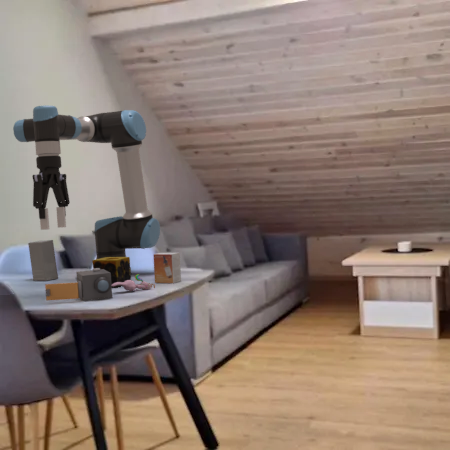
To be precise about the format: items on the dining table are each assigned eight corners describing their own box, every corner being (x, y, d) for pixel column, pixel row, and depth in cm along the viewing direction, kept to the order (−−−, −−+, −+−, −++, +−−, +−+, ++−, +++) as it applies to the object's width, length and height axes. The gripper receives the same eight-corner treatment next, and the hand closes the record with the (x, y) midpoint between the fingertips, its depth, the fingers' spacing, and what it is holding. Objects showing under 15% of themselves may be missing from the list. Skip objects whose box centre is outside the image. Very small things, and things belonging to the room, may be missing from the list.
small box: (154, 283, 237) (152, 254, 237) (163, 280, 242) (161, 252, 242) (173, 283, 233) (171, 254, 233) (181, 281, 238) (179, 252, 238)
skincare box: (58, 278, 264) (55, 239, 263) (44, 281, 259) (41, 241, 258) (44, 278, 269) (42, 239, 268) (30, 280, 264) (27, 241, 263)
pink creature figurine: (149, 291, 227) (108, 290, 220) (150, 274, 228) (109, 272, 220) (156, 293, 222) (114, 292, 214) (158, 276, 222) (116, 273, 215)
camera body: (77, 295, 217) (75, 269, 217) (105, 292, 221) (103, 266, 220) (84, 302, 204) (82, 274, 204) (113, 298, 207) (111, 271, 207)
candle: (92, 288, 234) (90, 260, 233) (107, 283, 243) (105, 256, 243) (118, 288, 230) (116, 259, 230) (131, 283, 240) (130, 256, 239)
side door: (82, 298, 206) (81, 281, 206) (81, 299, 205) (80, 282, 204) (47, 300, 206) (45, 283, 206) (45, 301, 204) (44, 284, 204)
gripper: (59, 157, 218) (64, 226, 219) (16, 156, 199) (22, 231, 200) (78, 155, 214) (82, 225, 216) (36, 154, 196) (41, 230, 197)
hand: (53, 228), depth 208 cm, fingers open, 8 cm apart
